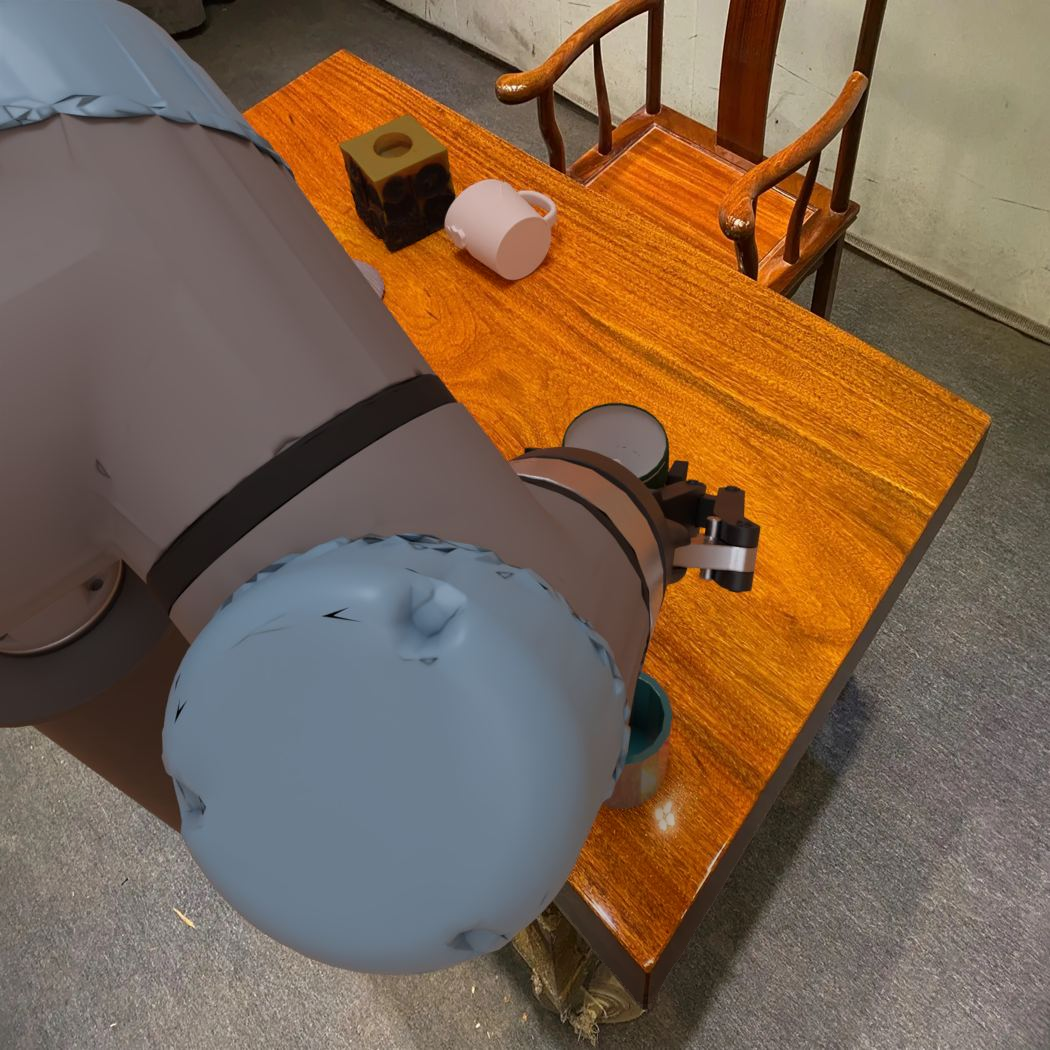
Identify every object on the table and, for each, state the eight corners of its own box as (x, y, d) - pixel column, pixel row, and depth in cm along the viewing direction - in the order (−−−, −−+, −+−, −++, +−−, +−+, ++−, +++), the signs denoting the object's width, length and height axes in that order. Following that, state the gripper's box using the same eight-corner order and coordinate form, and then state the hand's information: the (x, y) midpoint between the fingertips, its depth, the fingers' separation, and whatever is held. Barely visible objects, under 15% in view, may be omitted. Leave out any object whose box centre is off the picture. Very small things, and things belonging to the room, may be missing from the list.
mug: (494, 295, 108) (486, 239, 102) (449, 255, 113) (439, 199, 106) (575, 248, 112) (572, 191, 105) (528, 212, 116) (522, 155, 110)
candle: (391, 254, 114) (373, 184, 106) (354, 214, 119) (334, 144, 111) (462, 220, 117) (449, 149, 108) (422, 182, 122) (408, 111, 114)
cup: (608, 827, 73) (605, 785, 65) (555, 750, 77) (546, 701, 69) (686, 774, 75) (693, 727, 66) (630, 701, 79) (631, 648, 70)
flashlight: (564, 658, 59) (542, 466, 43) (595, 594, 62) (586, 388, 45) (639, 688, 58) (646, 500, 41) (668, 621, 60) (686, 418, 44)
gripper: (275, 644, 32) (465, 523, 54) (823, 737, 28) (784, 566, 51) (284, 425, 30) (475, 394, 53) (863, 494, 27) (805, 429, 49)
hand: (626, 478), depth 52 cm, fingers closed on flashlight, 5 cm apart
